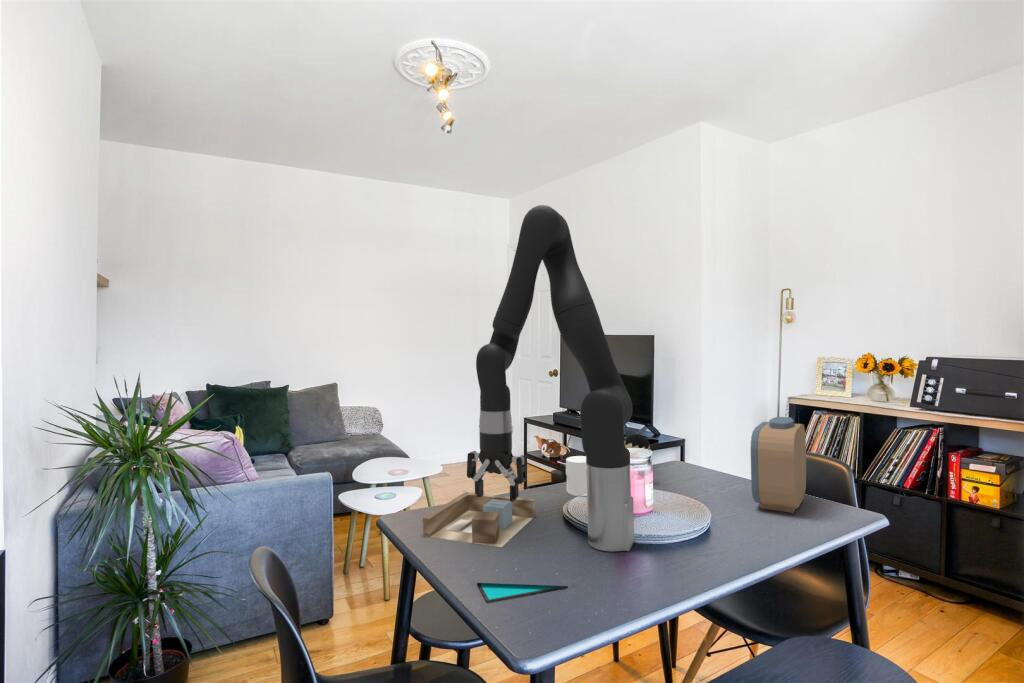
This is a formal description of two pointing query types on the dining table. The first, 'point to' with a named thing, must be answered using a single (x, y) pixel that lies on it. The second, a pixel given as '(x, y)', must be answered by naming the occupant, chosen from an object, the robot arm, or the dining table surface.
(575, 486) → the mug
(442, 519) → the tray
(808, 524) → the dining table surface
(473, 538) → the walnut block
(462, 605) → the dining table surface
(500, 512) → the block
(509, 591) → the flat teal bar
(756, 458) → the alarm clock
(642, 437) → the toy
